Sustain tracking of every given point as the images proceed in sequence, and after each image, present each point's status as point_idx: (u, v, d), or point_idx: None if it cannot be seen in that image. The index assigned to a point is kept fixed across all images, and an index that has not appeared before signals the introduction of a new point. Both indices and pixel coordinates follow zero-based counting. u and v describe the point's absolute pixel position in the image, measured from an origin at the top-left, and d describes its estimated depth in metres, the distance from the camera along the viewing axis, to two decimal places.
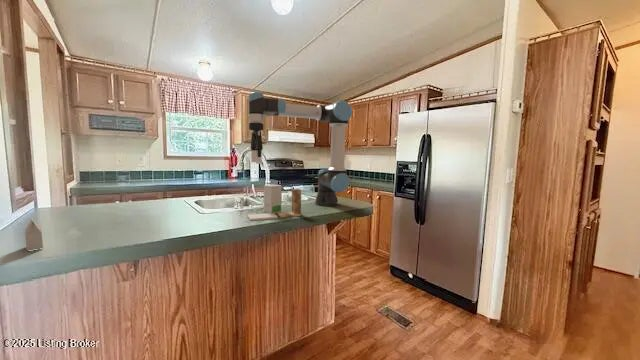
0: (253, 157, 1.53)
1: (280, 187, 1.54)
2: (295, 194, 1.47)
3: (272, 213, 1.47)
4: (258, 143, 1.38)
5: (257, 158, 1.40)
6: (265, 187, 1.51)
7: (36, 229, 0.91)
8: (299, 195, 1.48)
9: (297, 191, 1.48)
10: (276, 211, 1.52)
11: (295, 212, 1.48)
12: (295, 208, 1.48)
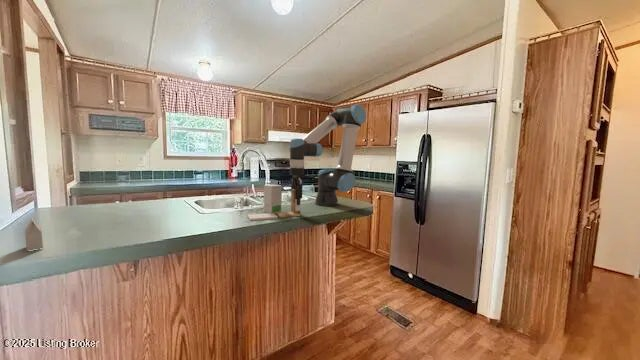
0: None
1: (280, 187, 1.54)
2: (294, 194, 1.47)
3: (272, 213, 1.47)
4: (299, 193, 1.44)
5: (296, 206, 1.47)
6: (266, 187, 1.51)
7: (36, 229, 0.91)
8: None
9: None
10: (276, 211, 1.52)
11: (294, 212, 1.48)
12: (294, 208, 1.48)
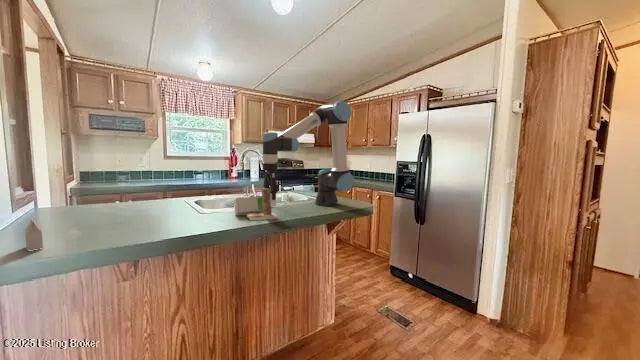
0: None
1: (238, 199, 1.43)
2: (265, 194, 1.39)
3: (272, 213, 1.47)
4: (273, 186, 1.33)
5: (271, 201, 1.36)
6: (237, 214, 1.45)
7: (36, 229, 0.91)
8: (269, 195, 1.40)
9: (267, 191, 1.40)
10: None
11: (265, 213, 1.40)
12: (265, 208, 1.40)
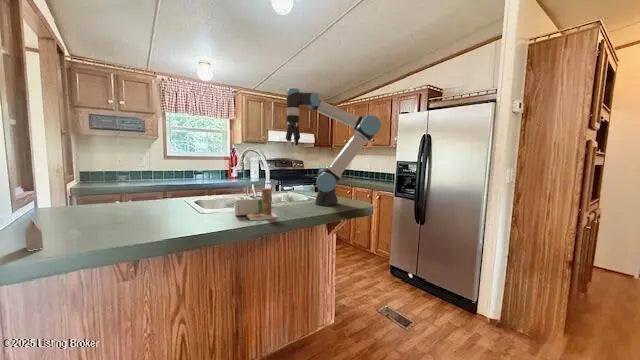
0: (288, 146, 1.72)
1: (239, 202, 1.41)
2: (265, 194, 1.39)
3: (272, 213, 1.47)
4: (296, 133, 1.57)
5: (295, 146, 1.60)
6: None
7: (36, 229, 0.91)
8: (269, 195, 1.40)
9: (267, 191, 1.40)
10: None
11: (265, 213, 1.40)
12: (265, 208, 1.40)
